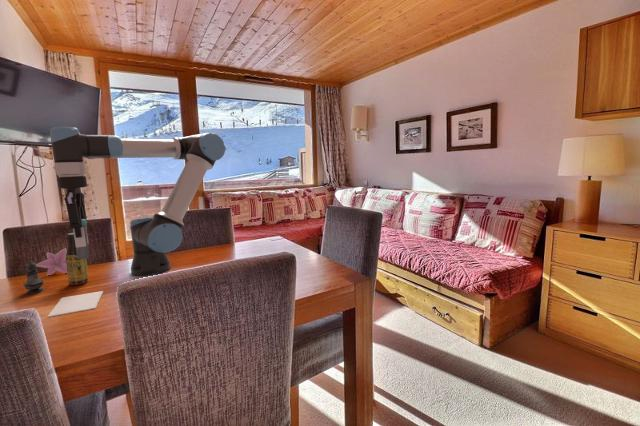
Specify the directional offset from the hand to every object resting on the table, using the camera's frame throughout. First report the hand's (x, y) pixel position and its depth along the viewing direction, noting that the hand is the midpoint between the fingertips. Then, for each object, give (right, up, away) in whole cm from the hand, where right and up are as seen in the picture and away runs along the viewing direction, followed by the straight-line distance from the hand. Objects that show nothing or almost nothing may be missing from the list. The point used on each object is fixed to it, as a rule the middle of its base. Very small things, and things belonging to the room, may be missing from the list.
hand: (82, 245), depth 109 cm
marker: (0, -4, 0) cm, 4 cm away
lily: (-34, -15, +31) cm, 48 cm away
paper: (0, -19, -3) cm, 19 cm away
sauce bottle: (-14, -17, +17) cm, 27 cm away
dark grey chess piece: (-25, -18, +10) cm, 32 cm away
